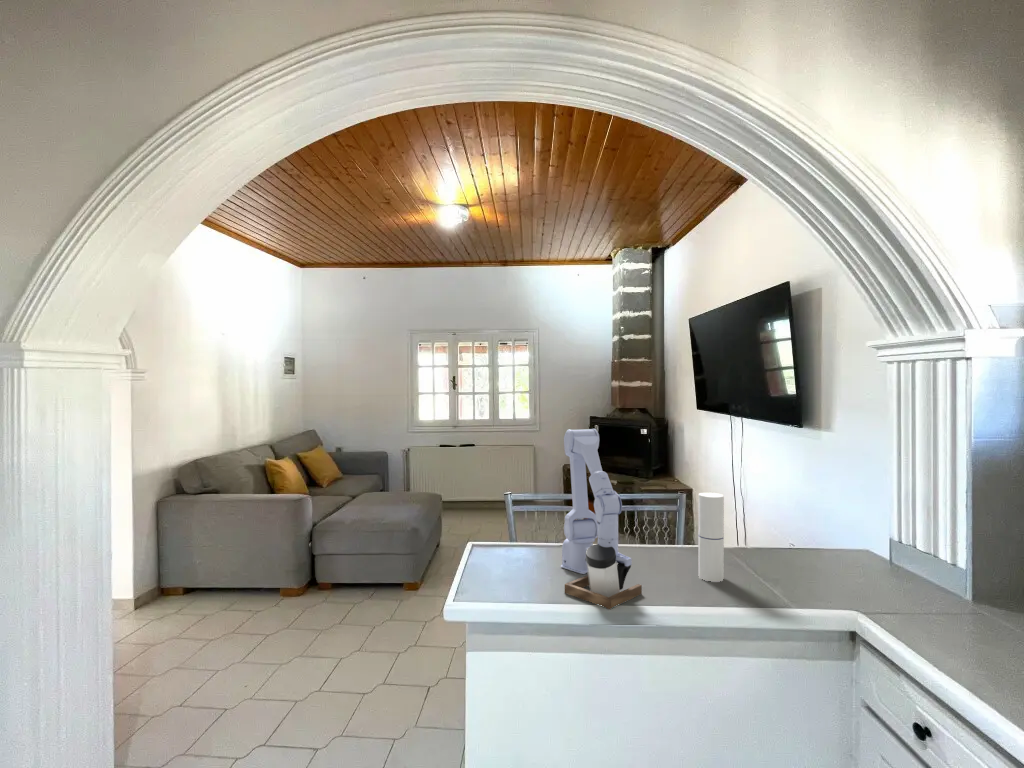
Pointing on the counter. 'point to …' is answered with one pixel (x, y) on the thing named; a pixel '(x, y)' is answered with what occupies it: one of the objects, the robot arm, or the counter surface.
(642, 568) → the counter surface
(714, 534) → the cylindrical container
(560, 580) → the counter surface
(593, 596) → the bay
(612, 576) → the jar
